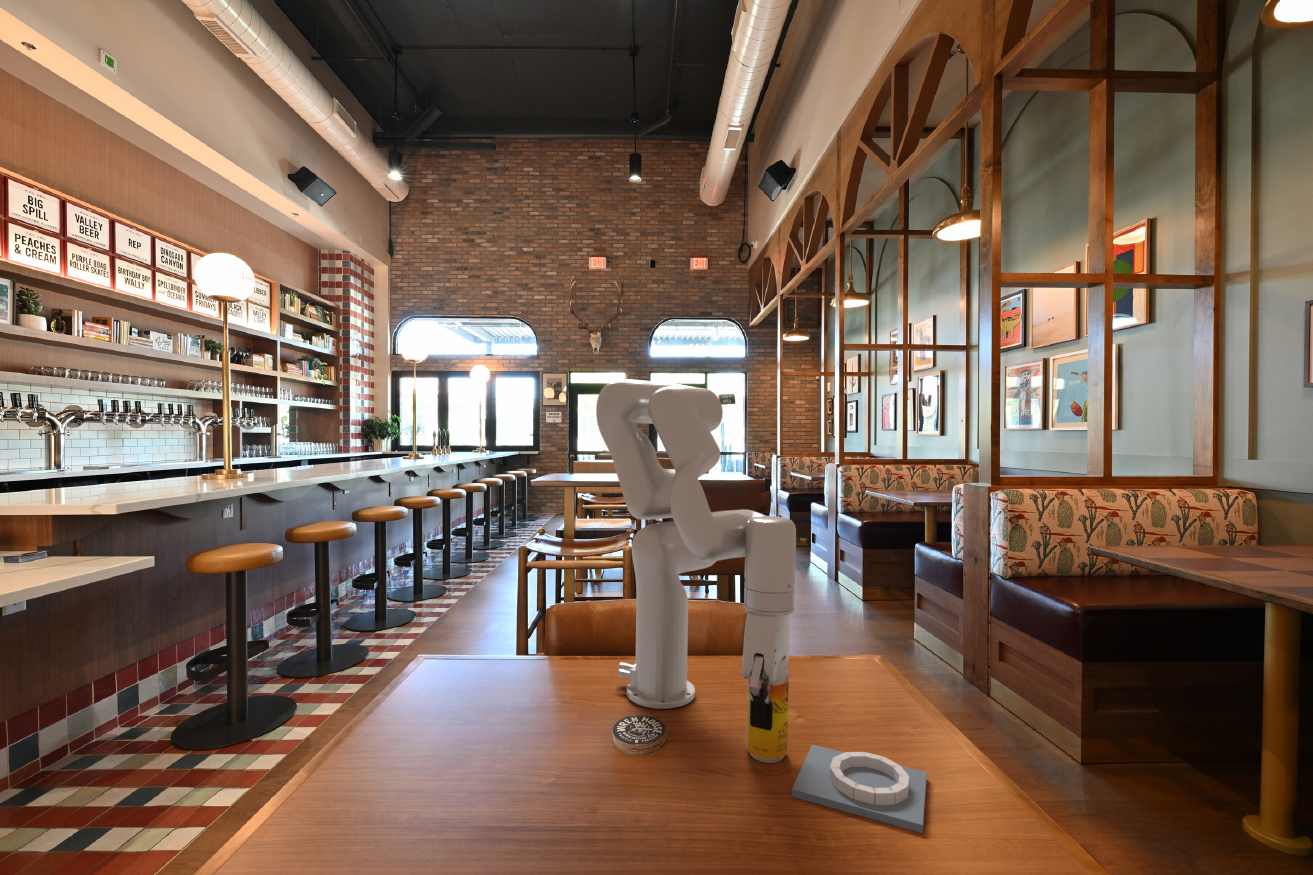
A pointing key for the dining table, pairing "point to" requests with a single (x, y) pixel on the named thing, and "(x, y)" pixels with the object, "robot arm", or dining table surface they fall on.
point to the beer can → (773, 741)
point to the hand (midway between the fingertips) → (767, 716)
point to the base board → (863, 786)
